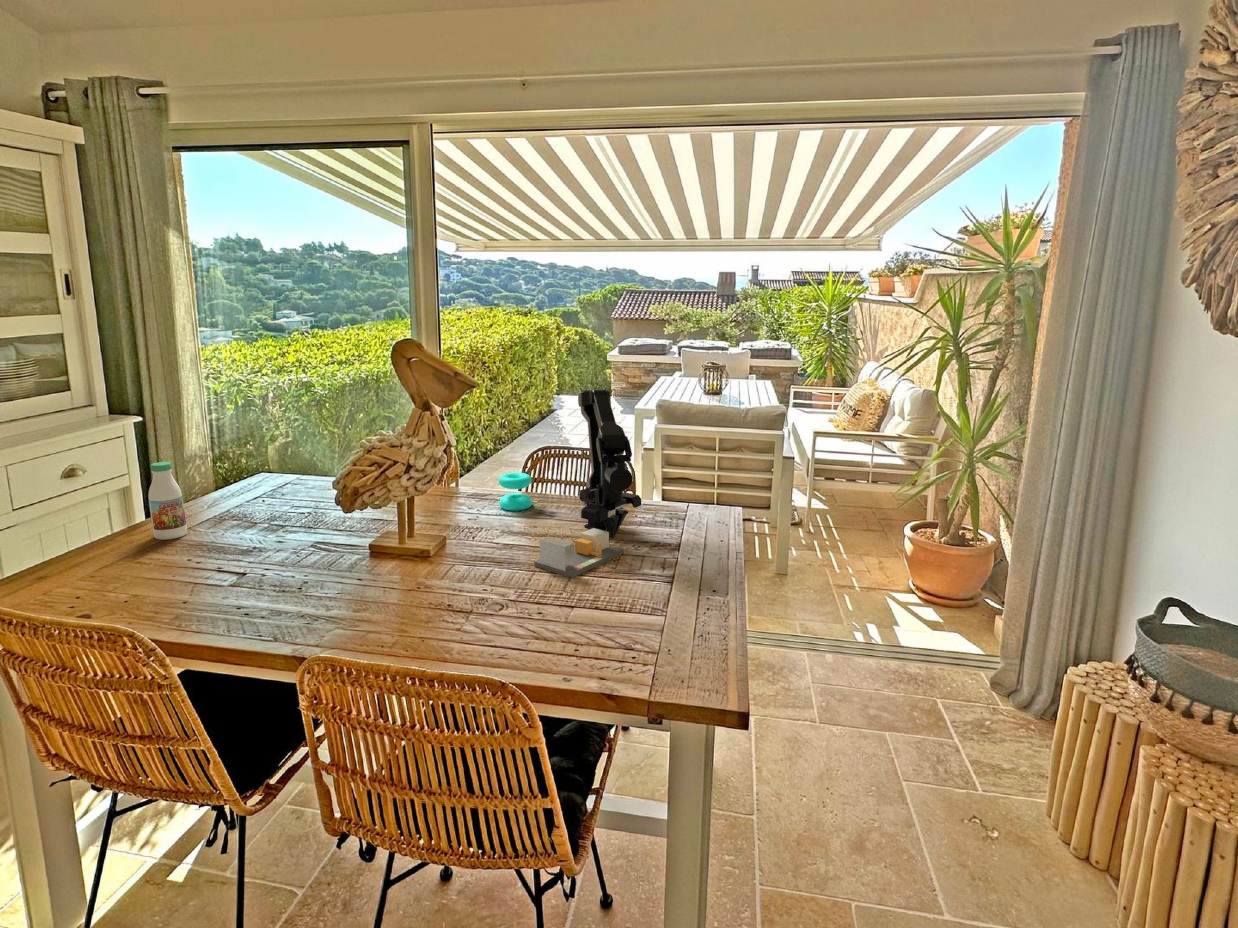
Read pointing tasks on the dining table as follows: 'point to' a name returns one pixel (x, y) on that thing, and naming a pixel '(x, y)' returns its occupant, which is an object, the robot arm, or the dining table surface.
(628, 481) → the robot arm
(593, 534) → the block
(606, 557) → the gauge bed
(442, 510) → the dining table surface
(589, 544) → the needle rider
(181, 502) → the milk bottle
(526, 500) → the donuts
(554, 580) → the dining table surface
